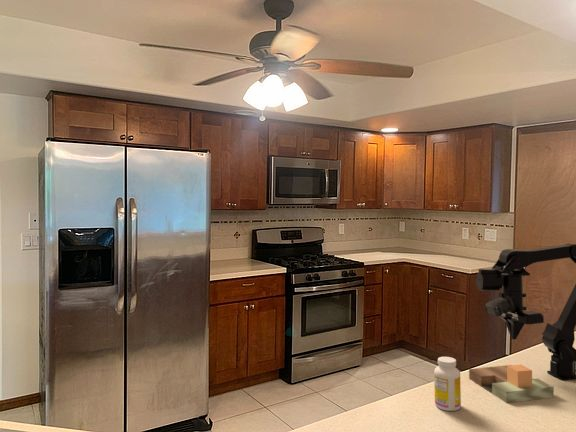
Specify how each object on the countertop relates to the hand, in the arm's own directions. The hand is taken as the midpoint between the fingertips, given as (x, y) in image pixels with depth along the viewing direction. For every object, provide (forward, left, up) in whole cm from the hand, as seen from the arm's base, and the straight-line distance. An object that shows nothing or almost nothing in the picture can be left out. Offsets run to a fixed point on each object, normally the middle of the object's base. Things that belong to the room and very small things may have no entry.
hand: (513, 339), depth 138 cm
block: (+7, +12, -9) cm, 16 cm away
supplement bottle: (+31, +14, -12) cm, 36 cm away
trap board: (+7, +7, -12) cm, 16 cm away
